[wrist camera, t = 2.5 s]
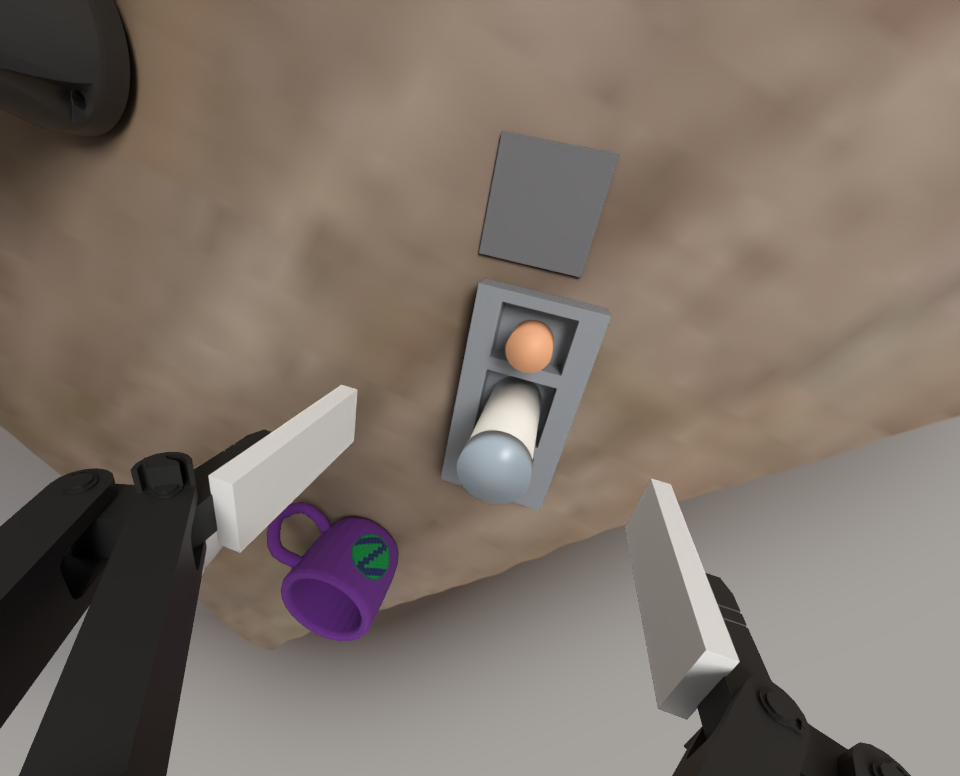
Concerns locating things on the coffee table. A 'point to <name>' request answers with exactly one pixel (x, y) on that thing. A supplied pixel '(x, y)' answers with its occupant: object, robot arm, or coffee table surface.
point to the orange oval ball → (530, 346)
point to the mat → (546, 202)
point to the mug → (336, 573)
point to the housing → (558, 382)
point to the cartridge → (502, 443)
